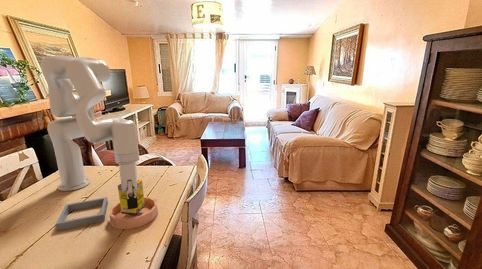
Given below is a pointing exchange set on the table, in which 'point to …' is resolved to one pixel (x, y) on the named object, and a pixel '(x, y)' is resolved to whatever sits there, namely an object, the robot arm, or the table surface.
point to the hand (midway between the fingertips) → (133, 202)
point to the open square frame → (82, 221)
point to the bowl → (134, 220)
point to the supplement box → (138, 194)
